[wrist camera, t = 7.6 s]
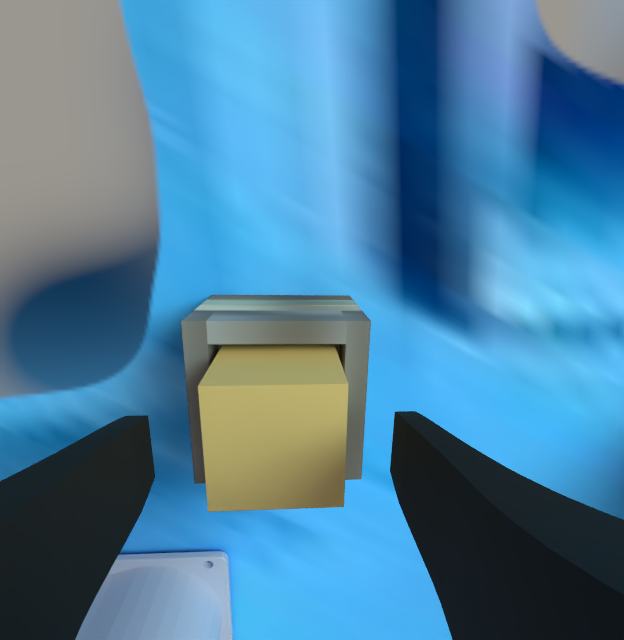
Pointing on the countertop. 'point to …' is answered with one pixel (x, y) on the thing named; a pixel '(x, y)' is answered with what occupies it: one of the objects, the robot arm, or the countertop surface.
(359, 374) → the tower base
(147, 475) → the robot arm
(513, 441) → the countertop surface
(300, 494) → the ochre block
